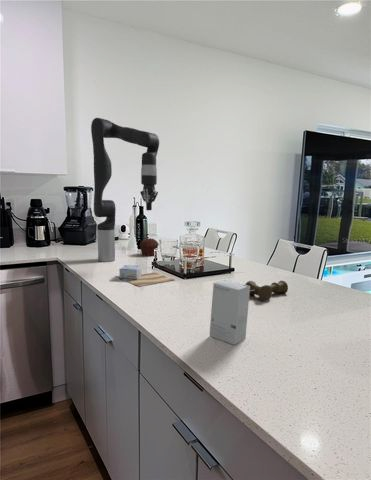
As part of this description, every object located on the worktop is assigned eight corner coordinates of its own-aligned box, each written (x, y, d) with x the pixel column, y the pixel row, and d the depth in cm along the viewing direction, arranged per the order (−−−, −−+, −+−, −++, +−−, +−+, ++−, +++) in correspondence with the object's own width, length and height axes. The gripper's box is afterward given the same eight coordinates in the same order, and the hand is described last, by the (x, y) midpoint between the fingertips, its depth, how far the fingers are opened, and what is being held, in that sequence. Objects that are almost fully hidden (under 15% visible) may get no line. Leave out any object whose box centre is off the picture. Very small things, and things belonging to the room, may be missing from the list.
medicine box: (141, 265, 151) (137, 269, 142) (141, 275, 151) (137, 279, 143) (124, 265, 151) (119, 269, 143) (124, 274, 152) (119, 279, 143)
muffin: (143, 257, 193) (143, 240, 192) (136, 254, 203) (136, 238, 201) (162, 255, 199) (162, 239, 197) (154, 252, 208) (154, 237, 207)
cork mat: (120, 278, 145) (120, 277, 145) (154, 272, 157) (154, 272, 157) (139, 287, 133) (139, 286, 133) (175, 280, 144) (175, 279, 144)
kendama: (293, 297, 125) (252, 304, 115) (274, 291, 133) (235, 297, 123) (294, 282, 124) (253, 287, 114) (275, 276, 133) (236, 281, 123)
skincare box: (209, 336, 88) (210, 282, 86) (221, 329, 93) (223, 278, 91) (236, 346, 83) (238, 289, 81) (248, 338, 88) (250, 284, 85)
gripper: (135, 174, 164) (135, 209, 167) (149, 174, 154) (149, 211, 156) (148, 175, 169) (148, 209, 171) (163, 174, 159) (162, 210, 161)
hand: (148, 210), depth 164 cm, fingers closed
